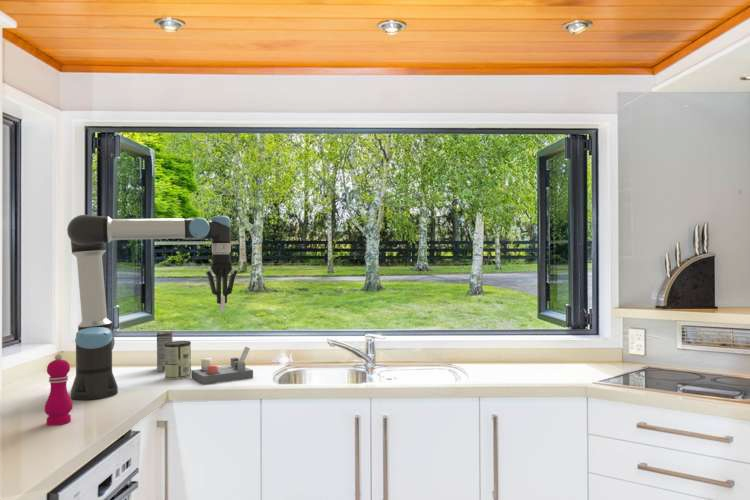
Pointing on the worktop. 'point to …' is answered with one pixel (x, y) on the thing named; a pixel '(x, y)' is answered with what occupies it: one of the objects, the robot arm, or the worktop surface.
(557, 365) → the worktop surface
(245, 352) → the lever
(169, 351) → the coffee can
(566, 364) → the worktop surface
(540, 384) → the worktop surface
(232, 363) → the slider knob
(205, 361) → the button ivory
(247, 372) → the panel
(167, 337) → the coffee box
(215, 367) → the button red
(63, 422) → the pepper mill
